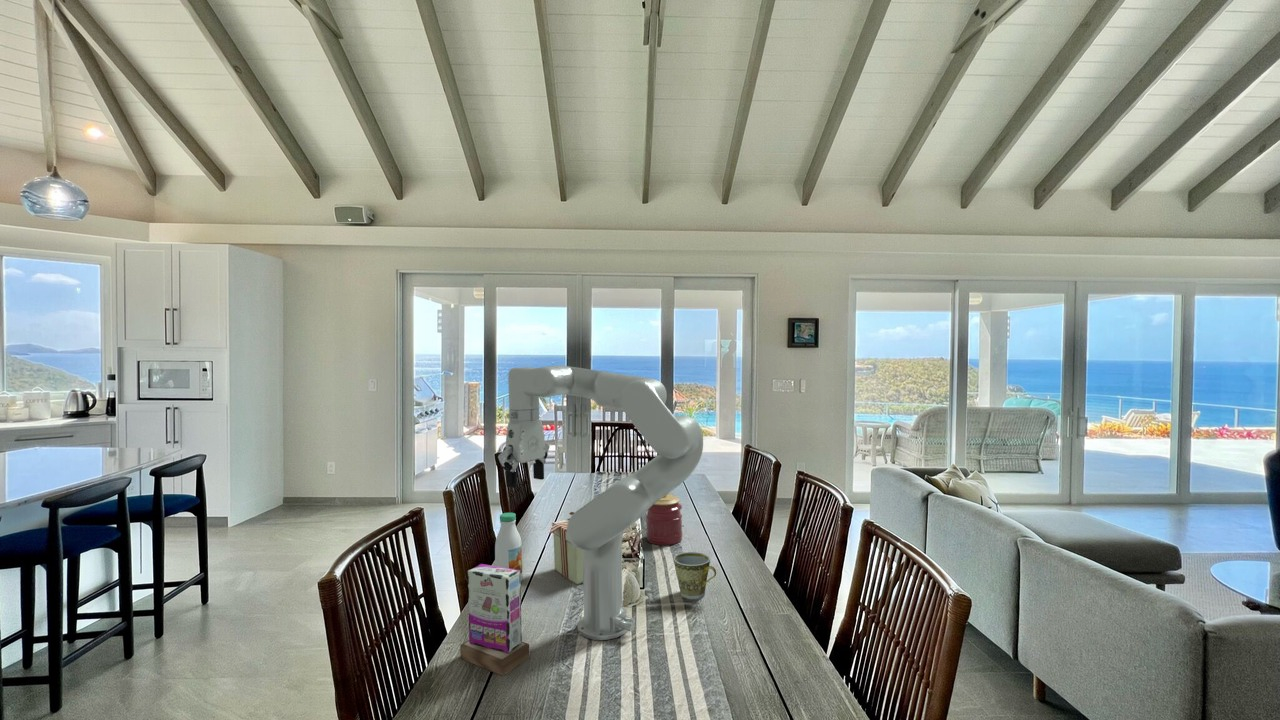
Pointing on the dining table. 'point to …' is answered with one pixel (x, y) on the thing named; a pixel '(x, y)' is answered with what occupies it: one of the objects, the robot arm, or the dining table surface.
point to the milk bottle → (508, 544)
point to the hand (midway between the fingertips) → (525, 482)
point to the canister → (664, 521)
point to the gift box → (566, 553)
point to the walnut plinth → (494, 657)
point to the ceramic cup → (692, 573)
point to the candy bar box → (494, 607)
